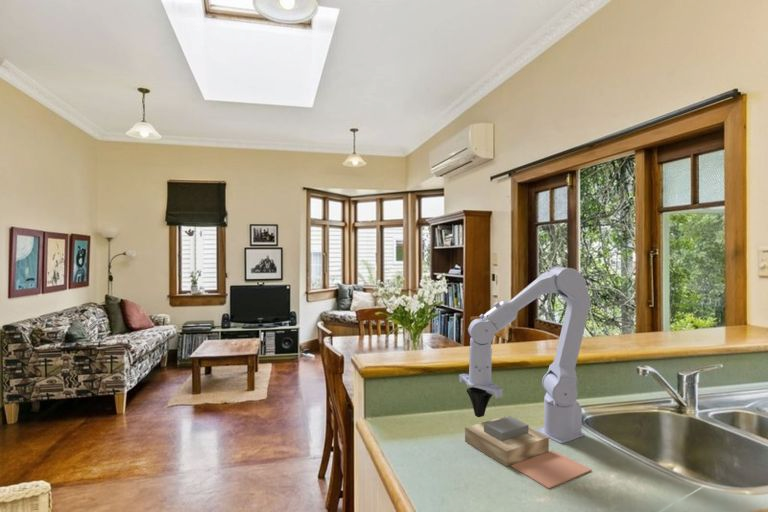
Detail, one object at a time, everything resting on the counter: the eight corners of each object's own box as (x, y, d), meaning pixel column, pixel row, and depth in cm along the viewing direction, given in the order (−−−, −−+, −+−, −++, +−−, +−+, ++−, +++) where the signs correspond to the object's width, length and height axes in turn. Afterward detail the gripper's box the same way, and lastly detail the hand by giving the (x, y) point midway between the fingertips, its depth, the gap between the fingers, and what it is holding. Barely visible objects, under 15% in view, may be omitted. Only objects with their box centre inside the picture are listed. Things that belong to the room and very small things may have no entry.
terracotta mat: (553, 451, 103) (553, 450, 103) (591, 470, 95) (591, 469, 95) (511, 466, 96) (511, 465, 96) (548, 489, 88) (548, 487, 88)
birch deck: (505, 429, 115) (505, 416, 115) (548, 451, 103) (548, 437, 103) (465, 441, 108) (465, 427, 108) (506, 466, 96) (506, 451, 96)
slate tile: (509, 423, 110) (510, 416, 110) (528, 433, 105) (528, 425, 105) (483, 431, 106) (483, 423, 106) (501, 441, 101) (501, 433, 101)
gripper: (450, 360, 117) (450, 409, 118) (488, 374, 105) (487, 429, 105) (470, 357, 121) (469, 404, 122) (509, 370, 108) (508, 423, 109)
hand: (479, 415), depth 114 cm, fingers closed
